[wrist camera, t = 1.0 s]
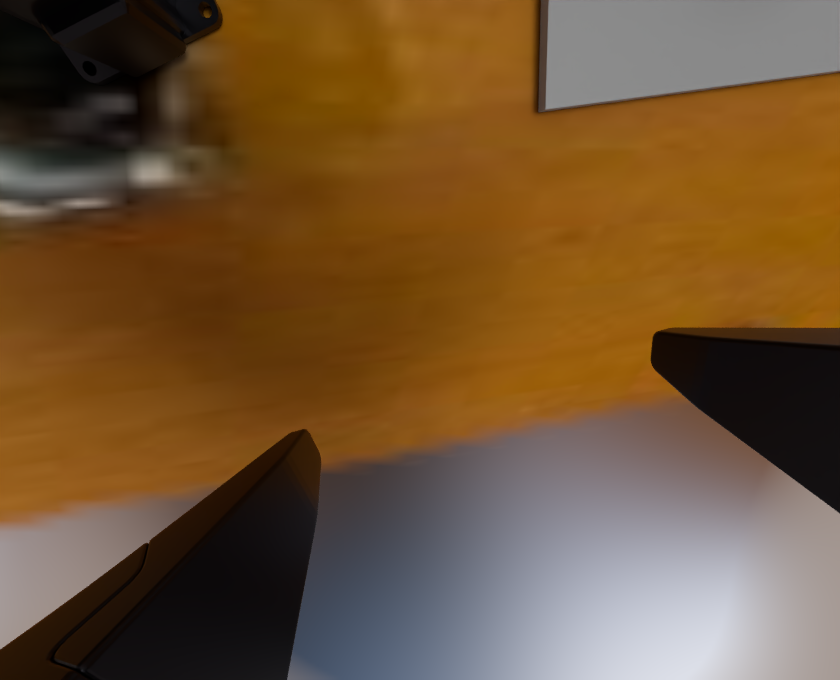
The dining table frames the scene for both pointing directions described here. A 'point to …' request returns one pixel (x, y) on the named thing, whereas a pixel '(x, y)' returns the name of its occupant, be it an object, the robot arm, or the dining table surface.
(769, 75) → the mounting board
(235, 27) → the dining table surface
